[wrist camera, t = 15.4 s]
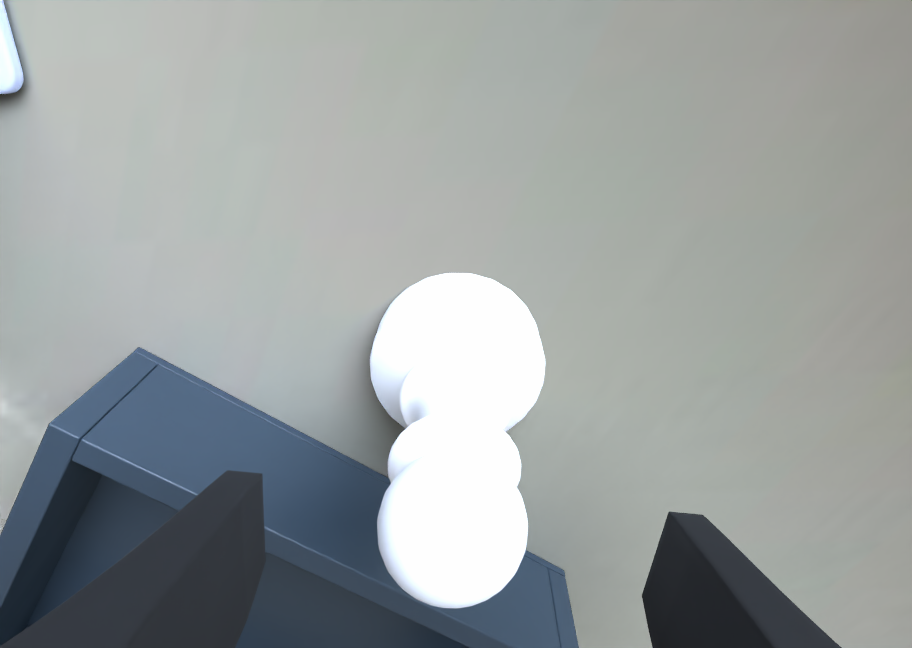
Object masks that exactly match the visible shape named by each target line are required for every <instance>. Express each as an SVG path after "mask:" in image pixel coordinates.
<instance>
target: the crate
mask: <svg viewBox="0 0 912 648" xmlns="http://www.w3.org/2000/svg"><path fill="white" fill-rule="evenodd" d="M227 470H231V471H242V472H252V473H262V476H263V504H264V532H265V560H266V562H265V565H264V568H263V572H262V575H261V578H260V581H259V585H258V588H257V591H256V594H255V597H254V601H253V604H252V607H251V610H250V613H249V616H248V619H247V621H246V624H245V626H244V628H243V631H242V633H241V635H240V638H239V640H238V642H237V644H236V647H235V648H579V646H578V641H577V636H576V631H575V626H574V620H573V615H572V610H571V605H570V600H569V595H568V590H567V585H566V579H565V572H564V570H562V569H560V568H559V567H557V566H555V565H553V564H551V563H549V562H547V561H545V560H543V559H541V558H540V557H538V556H536V555H534V554H532V553H530V552H528V551H526V550H525V553H524V556H523V558H522V561H521V563H520V565H519V567H518V570H517V572H516V573H515V575H514V576H513V578H512V579H511V580H510V581H509V582H508V583H507V585H506V586H505V587H504V588H503V589H502V590H501V591H500V592H498V593H497V594H495V595H494V596H492V597H491V598H489V599H488V600H486V601H484V602H481V603H478V604H476V605H473V606H469V607H463V608H441V607H436V606H432V605H428V604H426V603H424V602H422V601H419V600H417V599H415V598H414V597H412V596H411V595H410V594H408V593H407V592H406V591H404V590H403V589H402V588H401V587H400V586H399V585H398V584H397V583H396V581H395V580H394V579H393V578H392V576H391V575H390V574H389V572H388V570H387V568H386V566H385V564H384V561H383V559H382V556H381V553H380V550H379V546H378V533H377V518H378V513H379V510H380V507H381V503H382V500H383V497H384V494H385V492H386V490H387V489H388V487H389V486H390V484H391V482H390V479H389V478H387V477H385V476H383V475H382V474H380V473H378V472H376V471H374V470H372V469H370V468H368V467H366V466H364V465H363V464H361V463H359V462H357V461H355V460H353V459H351V458H349V457H347V456H345V455H343V454H342V453H340V452H338V451H336V450H334V449H332V448H330V447H328V446H326V445H324V444H323V443H321V442H319V441H317V440H315V439H313V438H311V437H309V436H307V435H305V434H304V433H302V432H300V431H298V430H296V429H294V428H292V427H290V426H288V425H286V424H284V423H283V422H281V421H279V420H277V419H275V418H273V417H271V416H269V415H267V414H265V413H264V412H262V411H260V410H258V409H256V408H254V407H252V406H250V405H248V404H246V403H244V402H243V401H241V400H239V399H237V398H235V397H233V396H231V395H229V394H227V393H225V392H224V391H222V390H220V389H218V388H216V387H214V386H212V385H210V384H208V383H206V382H205V381H203V380H201V379H199V378H197V377H195V376H193V375H191V374H189V373H187V372H185V371H184V370H182V369H180V368H178V367H176V366H174V365H172V364H170V363H168V362H166V361H165V360H163V359H161V358H159V357H157V356H155V355H153V354H151V353H149V352H147V351H146V350H144V349H142V348H140V347H138V348H137V349H136V350H135V351H134V352H133V353H132V354H131V355H129V356H128V357H127V358H126V359H125V360H123V361H122V362H121V363H120V364H119V365H118V366H116V367H115V368H114V369H113V370H112V371H111V372H109V373H108V374H107V375H106V376H105V377H103V378H102V379H101V380H100V381H99V382H98V383H96V384H95V385H94V386H93V387H92V388H91V389H89V390H88V391H87V392H86V393H85V394H83V395H82V396H81V397H80V398H79V399H78V400H76V401H75V402H74V403H73V404H72V405H71V406H69V407H68V408H67V409H66V410H65V411H63V412H62V413H61V414H60V415H59V416H58V417H56V418H55V419H54V420H53V421H52V422H51V423H49V425H48V427H47V429H46V432H45V434H44V436H43V439H42V441H41V443H40V445H39V448H38V450H37V452H36V455H35V457H34V459H33V462H32V464H31V466H30V468H29V471H28V473H27V475H26V478H25V480H24V482H23V484H22V487H21V489H20V491H19V494H18V496H17V498H16V500H15V503H14V505H13V507H12V510H11V512H10V514H9V516H8V519H7V521H6V523H5V526H4V528H3V530H2V532H1V535H0V645H2V644H4V643H5V642H7V641H8V640H10V639H11V638H13V637H14V636H16V635H17V634H19V633H20V632H22V631H23V630H25V629H26V628H28V627H29V626H31V625H32V624H34V623H35V622H37V621H38V620H39V619H41V618H42V617H44V616H45V615H47V614H48V613H49V612H51V611H52V610H54V609H55V608H56V607H58V606H59V605H61V604H62V603H63V602H65V601H66V600H68V599H69V598H70V597H72V596H73V595H74V594H76V593H77V592H78V591H80V590H81V589H82V588H84V587H85V586H86V585H88V584H89V583H90V582H92V581H93V580H94V579H96V578H97V577H98V576H99V575H101V574H102V573H103V572H105V571H106V570H107V569H109V568H110V567H111V566H113V565H114V564H115V563H117V562H118V561H119V560H120V559H122V558H123V557H124V556H125V555H127V554H128V553H129V552H130V551H132V550H133V549H134V548H135V547H136V546H138V545H139V544H140V543H141V542H143V541H144V540H145V539H146V538H147V537H149V536H150V535H151V534H152V533H154V532H155V531H156V530H157V529H158V528H160V527H161V526H162V525H163V524H165V523H166V522H167V521H168V520H169V519H170V518H172V517H173V516H174V515H175V514H176V513H177V512H179V511H180V510H181V509H182V508H183V507H184V506H186V505H187V504H188V503H189V502H190V501H191V500H193V499H194V498H195V497H196V496H197V495H198V494H199V493H201V492H202V491H203V490H204V489H205V488H206V487H208V486H209V485H210V484H211V483H212V482H213V481H215V480H216V479H217V478H218V477H219V476H221V475H222V474H223V473H224V472H226V471H227Z"/></svg>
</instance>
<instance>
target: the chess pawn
mask: <svg viewBox="0 0 912 648" xmlns="http://www.w3.org/2000/svg"><path fill="white" fill-rule="evenodd" d="M544 373H545V357H544V352H543V348H542V343H541V340H540V338H539V333H538V329H537V325H536V323H535V321H534V319H533V317H532V315H531V313H530V312H529V310H528V308H527V306H526V305H525V304H524V303H523V302H522V301H521V300H520V299H519V298H518V297H517V296H516V295H515V294H514V293H513V292H512V291H511V290H510V289H508V288H506V287H505V286H503V285H501V284H500V283H498V282H496V281H494V280H493V279H489V278H486V277H482V276H479V275H475V274H471V273H445V274H441V275H437V276H432V277H428V278H425V279H423V280H421V281H420V282H418V283H416V284H414V285H412V286H410V287H408V288H407V289H405V290H404V291H403V292H402V293H401V294H400V295H399V296H398V297H397V298H396V299H395V300H394V301H393V302H392V303H391V304H390V306H389V308H388V309H387V311H386V313H385V314H384V316H383V318H382V319H381V321H380V324H379V327H378V331H377V334H376V336H375V339H374V343H373V347H372V351H371V354H370V375H371V381H372V384H373V387H374V389H375V392H376V395H377V398H378V400H379V401H380V402H381V404H382V405H383V407H384V408H385V410H386V411H387V412H388V414H389V415H390V416H391V417H392V418H393V419H394V420H396V421H397V422H398V423H399V424H400V425H402V426H403V427H404V428H405V430H404V431H403V432H402V433H400V435H399V436H398V438H397V439H396V441H395V442H394V444H393V445H392V447H391V451H390V454H389V458H388V477H389V479H390V482H391V484H390V486H389V487H388V489H387V490H386V492H385V494H384V497H383V500H382V503H381V507H380V510H379V513H378V518H377V533H378V546H379V550H380V553H381V556H382V559H383V561H384V564H385V566H386V568H387V570H388V572H389V574H390V575H391V576H392V578H393V579H394V580H395V581H396V583H397V584H398V585H399V586H400V587H401V588H402V589H403V590H404V591H406V592H407V593H408V594H410V595H411V596H412V597H414V598H415V599H417V600H419V601H422V602H424V603H426V604H428V605H432V606H436V607H441V608H463V607H469V606H473V605H476V604H478V603H481V602H484V601H486V600H488V599H489V598H491V597H492V596H494V595H495V594H497V593H498V592H500V591H501V590H502V589H503V588H504V587H505V586H506V585H507V583H508V582H509V581H510V580H511V579H512V578H513V576H514V575H515V573H516V572H517V570H518V567H519V565H520V563H521V561H522V558H523V556H524V553H525V550H526V544H527V533H528V519H527V514H526V510H525V506H524V503H523V499H522V496H521V494H520V492H519V490H518V489H517V485H518V483H519V480H520V475H521V461H520V457H519V453H518V449H517V447H516V446H515V444H514V443H513V441H512V439H511V438H510V436H509V435H508V434H507V433H506V431H508V430H509V429H510V428H512V427H513V426H514V425H515V424H517V423H518V422H519V421H520V420H522V419H523V418H524V417H525V415H526V414H527V413H528V412H529V410H530V409H531V408H532V406H533V405H534V404H535V402H536V400H537V398H538V395H539V393H540V390H541V388H542V385H543V383H544Z"/></svg>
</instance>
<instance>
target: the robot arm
mask: <svg viewBox="0 0 912 648" xmlns="http://www.w3.org/2000/svg"><path fill="white" fill-rule="evenodd" d="M23 81H24V80H23V71H22V68H21V64H20V60H19V57H18V53H17V50H16V46H15V42H14V39H13V35H12V31H11V28H10V24H9V21H8V17H7V13H6V10H5V6H4V3H3V0H0V94H9V93H14V92H17V91H18V90H19V89H20V88H21V87H22V84H23ZM265 562H266V560H265V532H264V504H263V476H262V473H252V472H242V471H231V470H227V471H226V472H224V473H223V474H222V475H221V476H219V477H218V478H217V479H216V480H215V481H213V482H212V483H211V484H210V485H209V486H208V487H206V488H205V489H204V490H203V491H202V492H201V493H199V494H198V495H197V496H196V497H195V498H194V499H193V500H191V501H190V502H189V503H188V504H187V505H186V506H184V507H183V508H182V509H181V510H180V511H179V512H177V513H176V514H175V515H174V516H173V517H172V518H170V519H169V520H168V521H167V522H166V523H165V524H163V525H162V526H161V527H160V528H158V529H157V530H156V531H155V532H154V533H152V534H151V535H150V536H149V537H147V538H146V539H145V540H144V541H143V542H141V543H140V544H139V545H138V546H136V547H135V548H134V549H133V550H132V551H130V552H129V553H128V554H127V555H125V556H124V557H123V558H122V559H120V560H119V561H118V562H117V563H115V564H114V565H113V566H111V567H110V568H109V569H107V570H106V571H105V572H103V573H102V574H101V575H99V576H98V577H97V578H96V579H94V580H93V581H92V582H90V583H89V584H88V585H86V586H85V587H84V588H82V589H81V590H80V591H78V592H77V593H76V594H74V595H73V596H72V597H70V598H69V599H68V600H66V601H65V602H63V603H62V604H61V605H59V606H58V607H56V608H55V609H54V610H52V611H51V612H49V613H48V614H47V615H45V616H44V617H42V618H41V619H39V620H38V621H37V622H35V623H34V624H32V625H31V626H29V627H28V628H26V629H25V630H23V631H22V632H20V633H19V634H17V635H16V636H14V637H13V638H11V639H10V640H8V641H7V642H5V643H4V644H2V645H0V648H235V647H236V644H237V642H238V640H239V638H240V635H241V633H242V631H243V628H244V626H245V624H246V621H247V619H248V616H249V613H250V610H251V607H252V604H253V601H254V597H255V594H256V591H257V588H258V585H259V581H260V578H261V575H262V572H263V568H264V565H265ZM642 598H643V603H644V608H645V613H646V619H647V624H648V629H649V633H650V637H651V642H652V646H653V648H841V647H840V646H839V645H838V644H837V643H836V642H834V641H833V640H832V639H831V638H830V637H829V636H828V635H827V634H826V633H825V632H824V631H823V630H821V629H820V628H819V627H818V626H817V625H816V624H815V623H814V622H813V621H812V620H811V619H810V618H809V617H807V616H806V615H805V614H804V613H803V612H802V611H801V610H800V609H799V608H798V607H797V606H796V605H795V604H794V603H793V602H792V601H791V600H790V599H789V598H788V597H787V596H785V595H784V594H783V593H782V592H781V591H780V590H779V589H778V588H777V587H776V586H775V585H774V584H773V583H772V582H771V581H770V580H769V579H768V578H767V577H766V576H765V575H764V574H763V573H762V572H761V571H760V570H759V569H758V568H757V567H756V566H755V565H754V564H753V563H752V562H751V561H750V560H749V559H748V558H747V557H746V556H745V555H744V554H743V553H742V552H741V551H740V550H739V549H738V548H737V547H736V546H735V545H734V544H733V543H732V542H731V541H730V540H729V539H728V538H727V537H726V536H725V535H724V534H722V533H721V532H720V531H719V530H718V529H717V528H716V527H715V526H714V525H713V524H712V523H711V522H710V521H709V520H708V519H707V518H706V517H704V516H703V515H698V514H688V513H677V512H669V513H668V516H667V519H666V522H665V525H664V528H663V532H662V535H661V538H660V541H659V544H658V547H657V550H656V553H655V556H654V560H653V563H652V566H651V569H650V572H649V575H648V578H647V581H646V584H645V588H644V591H643V594H642Z"/></svg>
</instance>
